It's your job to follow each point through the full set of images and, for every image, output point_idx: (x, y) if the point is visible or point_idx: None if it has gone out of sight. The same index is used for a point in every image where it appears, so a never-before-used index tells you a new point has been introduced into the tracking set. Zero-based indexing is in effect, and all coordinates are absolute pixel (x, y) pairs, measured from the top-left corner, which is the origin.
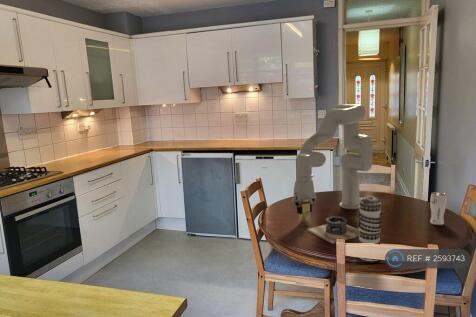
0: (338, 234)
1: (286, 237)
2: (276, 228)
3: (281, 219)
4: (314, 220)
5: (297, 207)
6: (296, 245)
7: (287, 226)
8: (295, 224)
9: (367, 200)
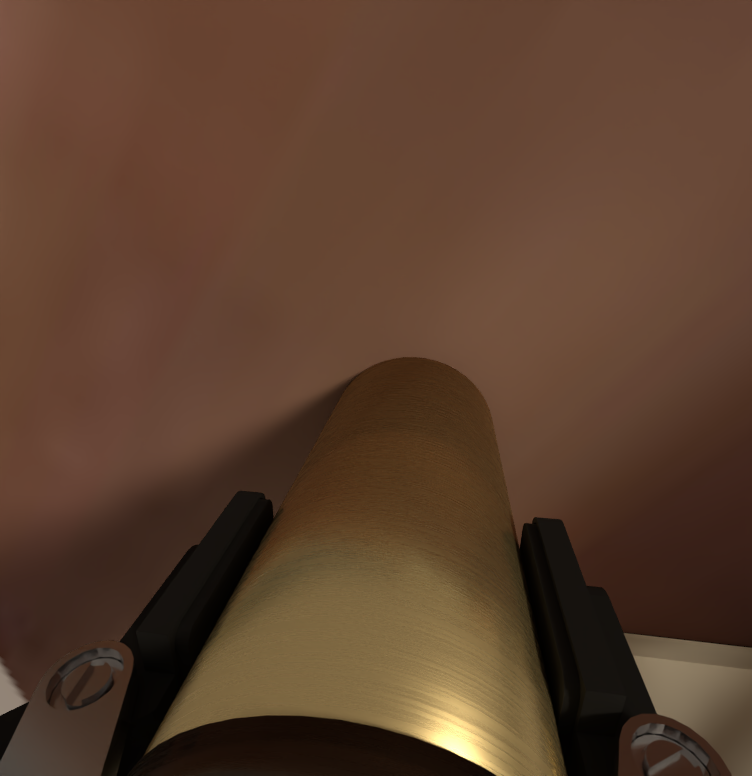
0: None
1: (33, 578)
2: (4, 327)
3: (212, 6)
4: (657, 400)
5: (132, 654)
6: None
7: (163, 355)
8: (299, 360)
9: None
